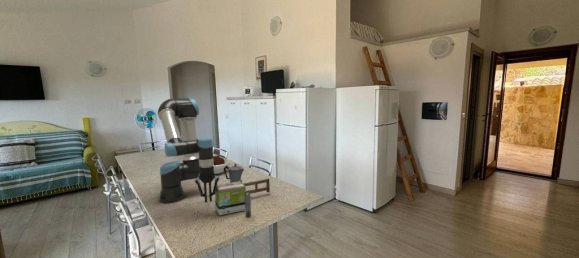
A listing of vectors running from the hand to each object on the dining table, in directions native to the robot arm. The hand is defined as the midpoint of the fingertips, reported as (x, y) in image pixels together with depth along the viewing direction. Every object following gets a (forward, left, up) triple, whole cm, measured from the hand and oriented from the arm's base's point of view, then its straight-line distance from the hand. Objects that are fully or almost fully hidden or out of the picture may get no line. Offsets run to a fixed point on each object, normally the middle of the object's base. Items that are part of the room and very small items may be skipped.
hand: (208, 207), depth 137 cm
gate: (+31, +13, -3) cm, 33 cm away
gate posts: (+20, +1, -4) cm, 20 cm away
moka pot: (+19, +27, -4) cm, 33 cm away
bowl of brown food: (+11, +79, -4) cm, 80 cm away
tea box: (+12, 0, -4) cm, 12 cm away
